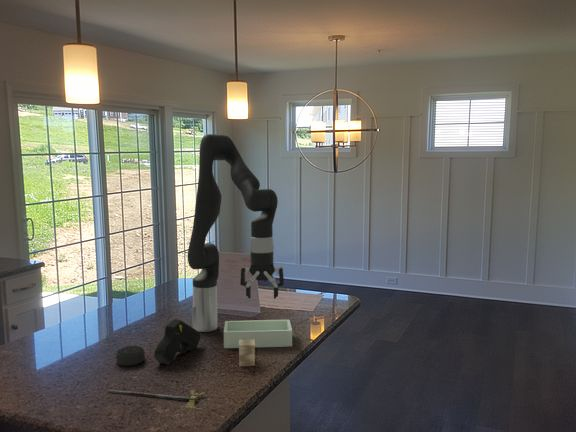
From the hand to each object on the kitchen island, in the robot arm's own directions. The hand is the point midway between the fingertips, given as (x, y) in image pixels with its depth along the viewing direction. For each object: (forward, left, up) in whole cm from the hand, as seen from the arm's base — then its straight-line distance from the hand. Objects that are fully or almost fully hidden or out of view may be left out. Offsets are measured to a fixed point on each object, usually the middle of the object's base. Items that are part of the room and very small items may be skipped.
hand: (262, 297), depth 170 cm
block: (-5, -6, -20) cm, 22 cm away
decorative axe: (-30, -26, -21) cm, 45 cm away
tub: (-1, +13, -20) cm, 24 cm away
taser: (-28, +2, -20) cm, 35 cm away
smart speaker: (-43, -2, -21) cm, 48 cm away
